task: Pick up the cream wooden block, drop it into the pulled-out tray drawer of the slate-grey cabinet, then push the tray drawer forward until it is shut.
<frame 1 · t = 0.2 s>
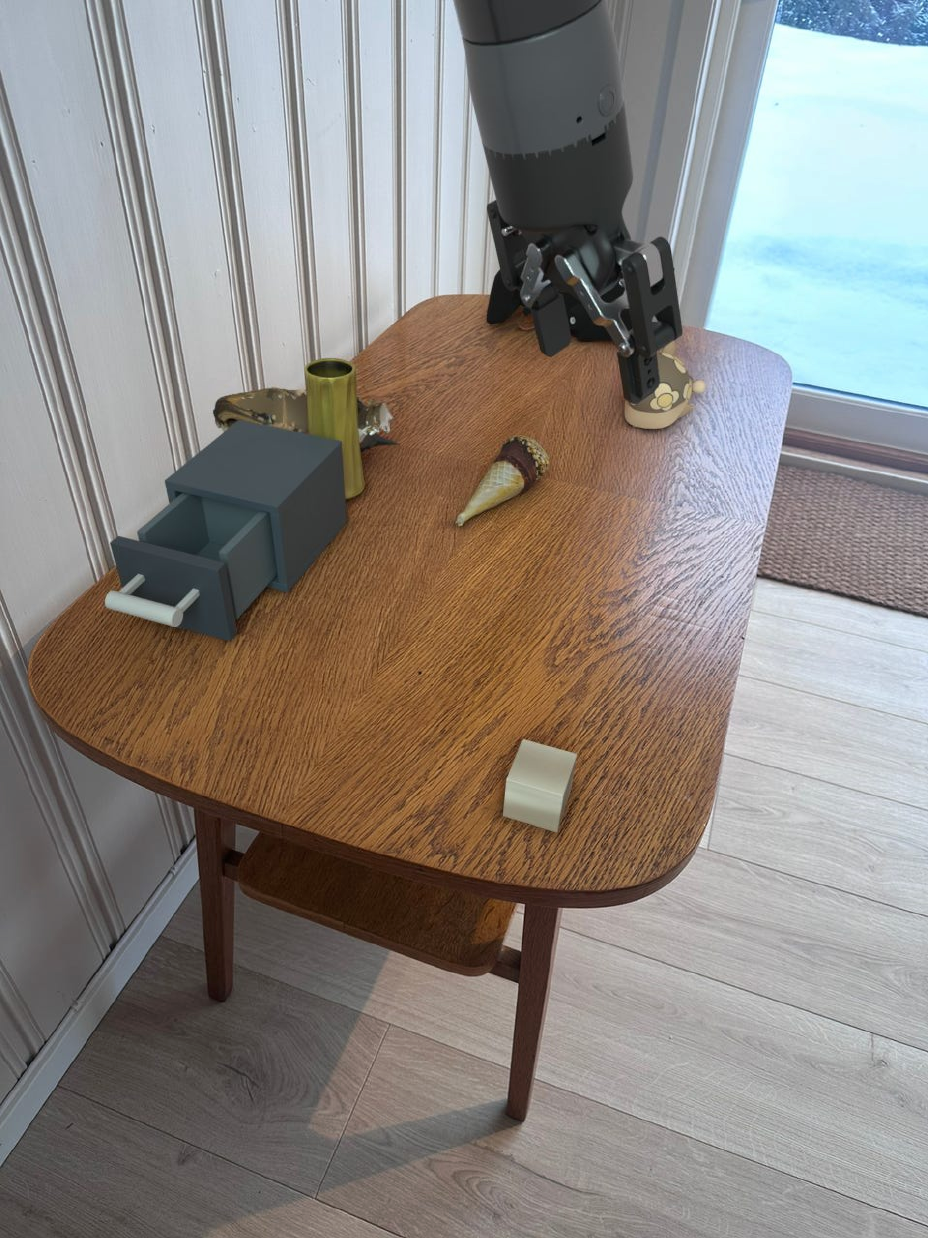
hand: (597, 371, 57), 29 cm above the table, tool tilted 20°, fingers open, 8 cm apart
drawer: (195, 568, 79), point 5 cm above the table, slide at 8.0 cm
cabinet: (267, 543, 91), on the table
knife: (562, 330, 138), on the table
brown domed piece: (678, 378, 123), point 1 cm above the table
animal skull: (278, 395, 94), point 11 cm above the table, touching vase
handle: (593, 339, 139), on the table
vase: (337, 488, 100), on the table, touching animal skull
ice cream cone: (457, 523, 95), on the table
block: (537, 803, 66), on the table
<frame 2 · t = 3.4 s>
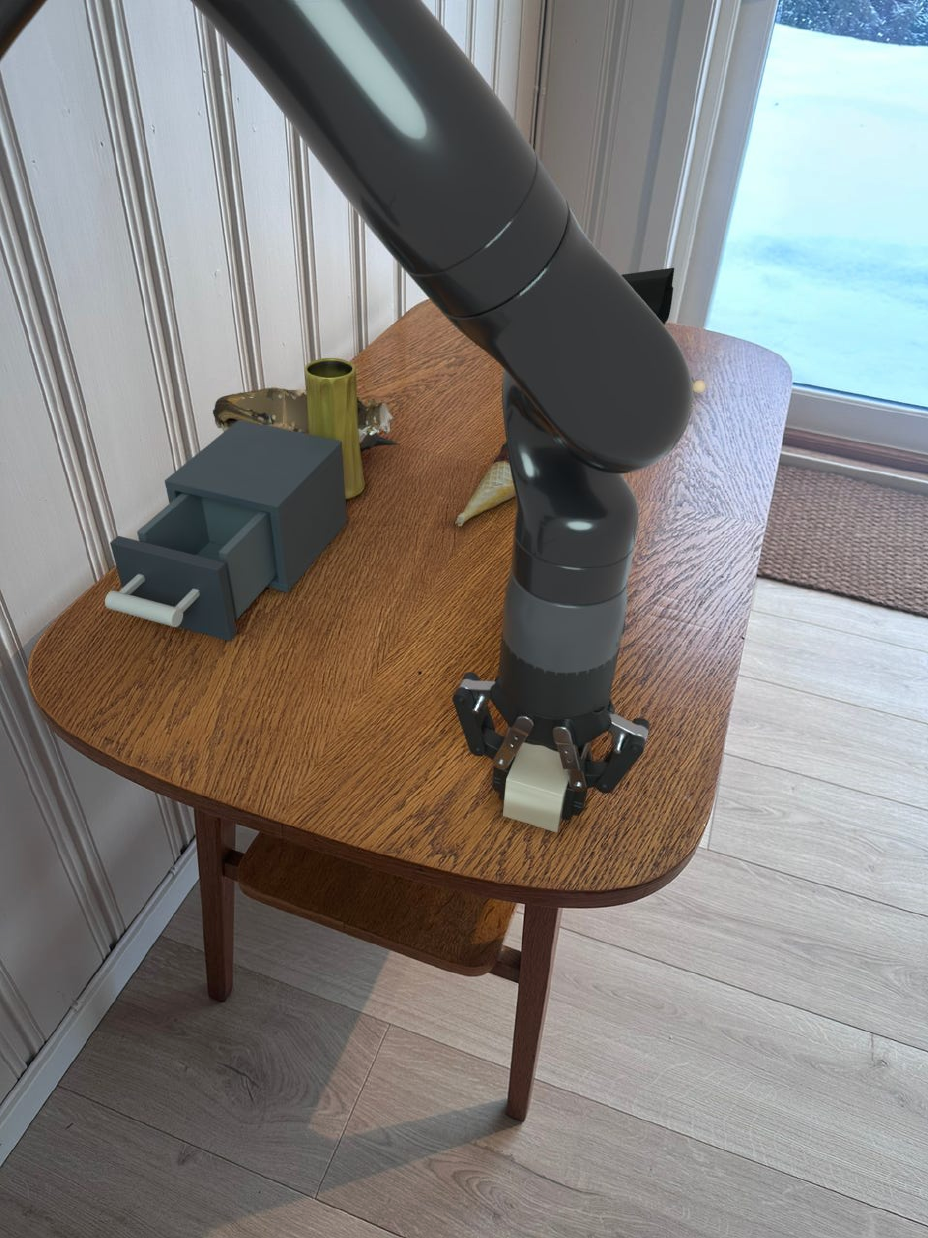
hand: (538, 801, 66), 0 cm above the table, tool pointing down, fingers closed on block, 4 cm apart
knife: (562, 330, 138), on the table, touching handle
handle: (593, 339, 139), on the table, touching knife
block: (537, 803, 66), on the table, touching gripper
everything else where it was.
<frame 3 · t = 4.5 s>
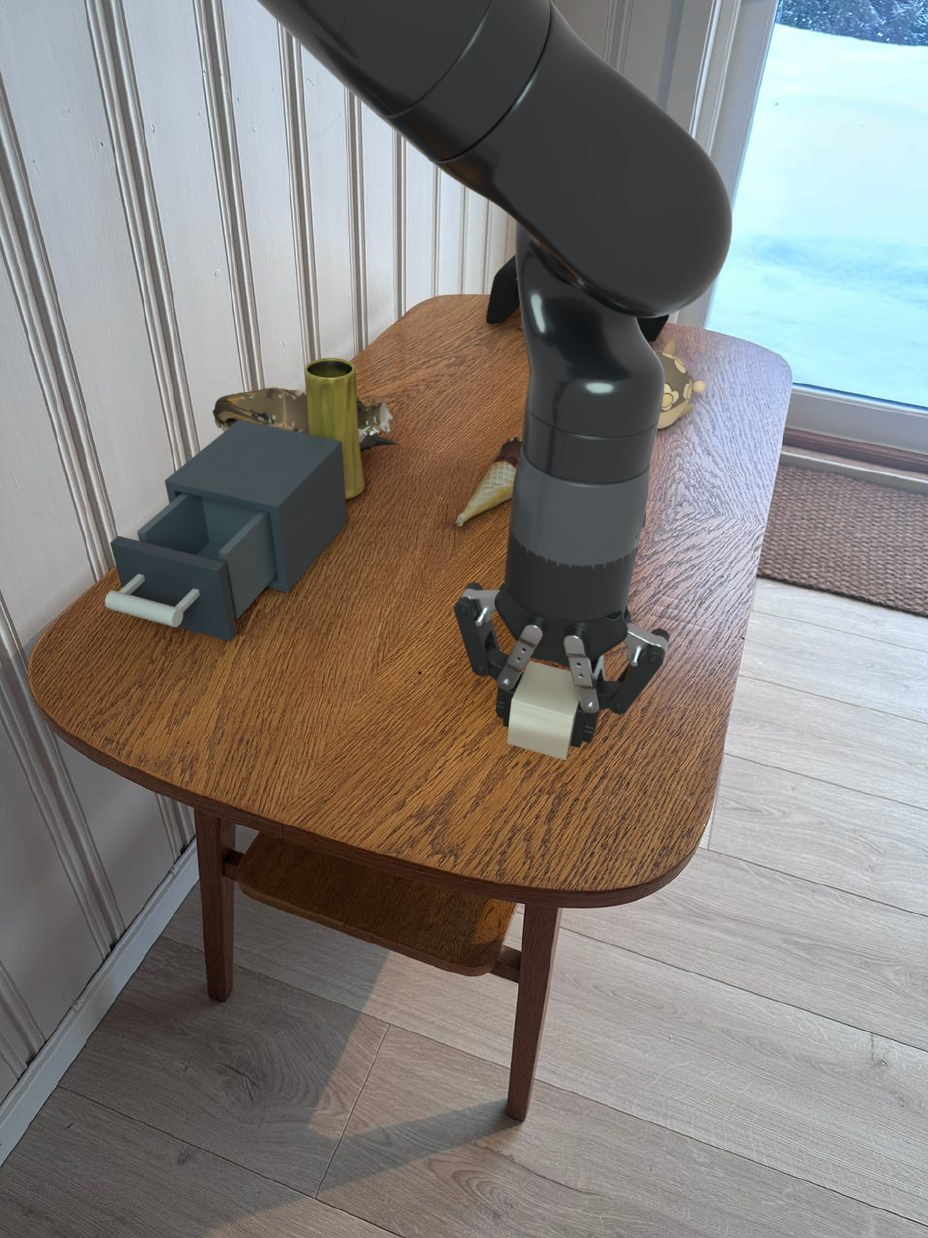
hand: (545, 728, 61), 8 cm above the table, tool pointing down, fingers closed on block, 4 cm apart
block: (544, 731, 61), point 8 cm above the table, touching gripper
everything else where it was.
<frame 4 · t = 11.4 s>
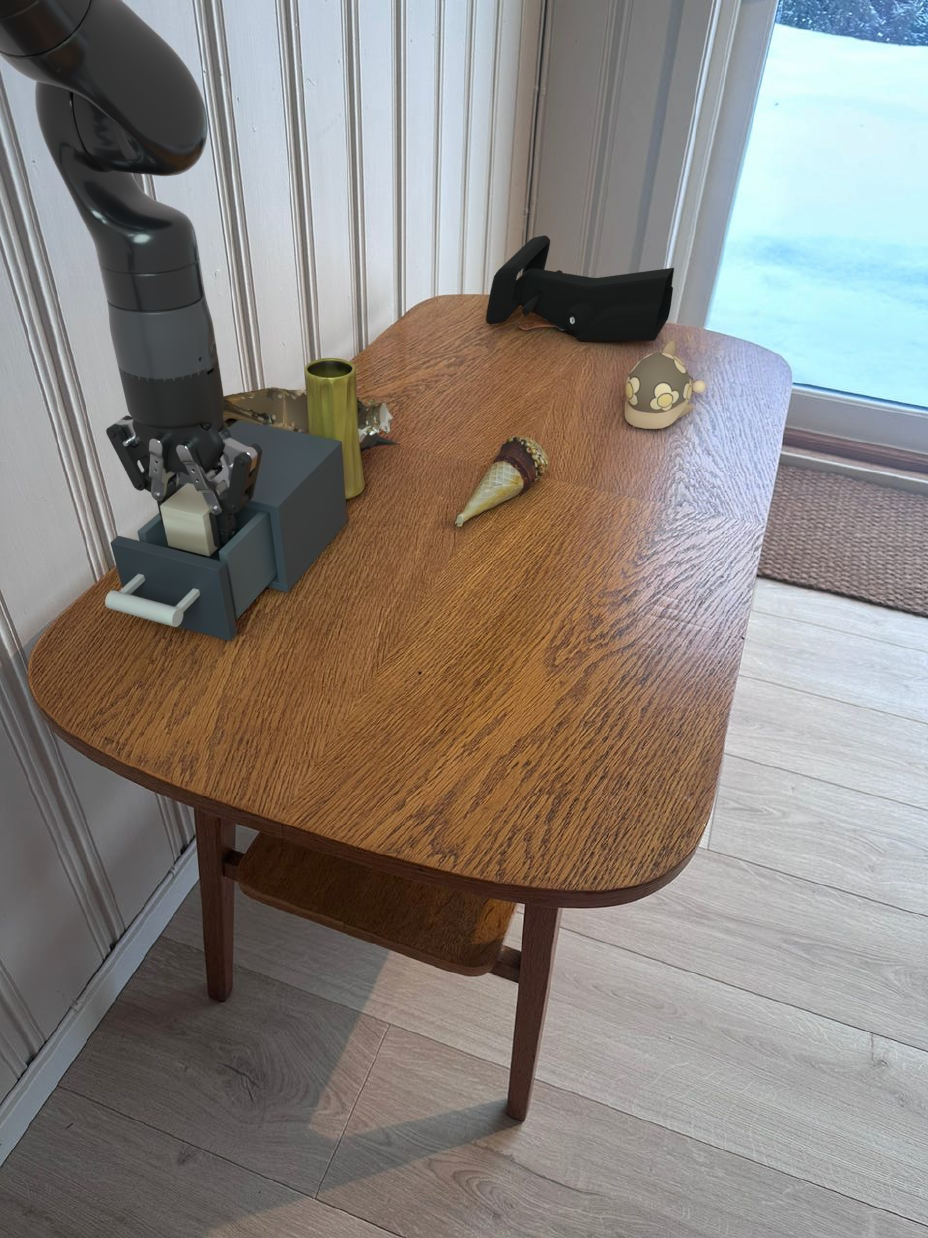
hand: (201, 536, 79), 7 cm above the table, tool pointing down, fingers closed on block, 4 cm apart
block: (201, 538, 79), point 7 cm above the table, touching gripper
everything else where it was.
when the fingers open (9 cm above the table, at t = 18.8 s): block drops 7 cm, resting on drawer.
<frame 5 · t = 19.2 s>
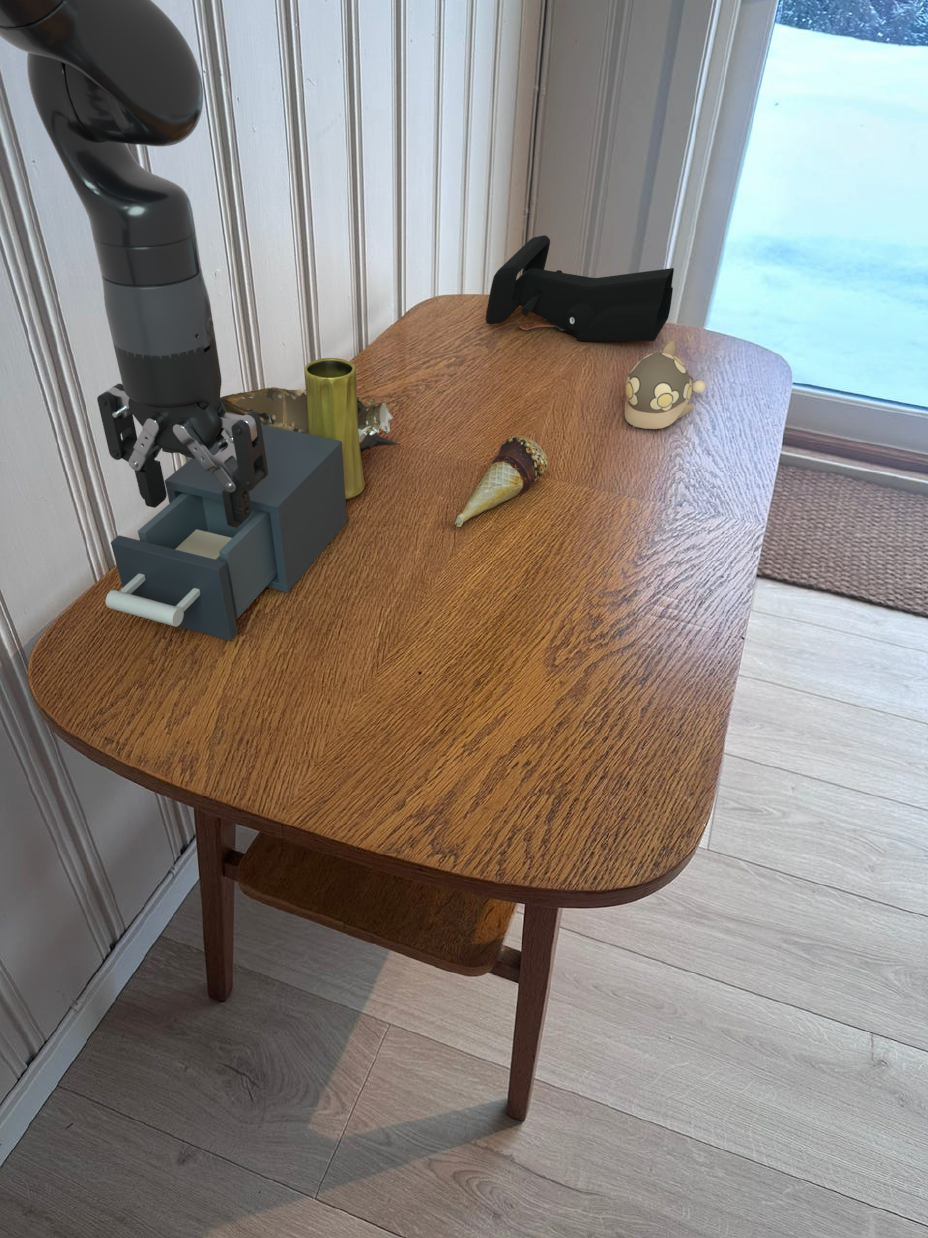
hand: (197, 512, 77), 10 cm above the table, tool pointing down, fingers open, 7 cm apart
drawer: (196, 568, 79), point 5 cm above the table, slide at 7.9 cm, touching block
block: (210, 582, 82), point 2 cm above the table, touching drawer
everything else where it was.
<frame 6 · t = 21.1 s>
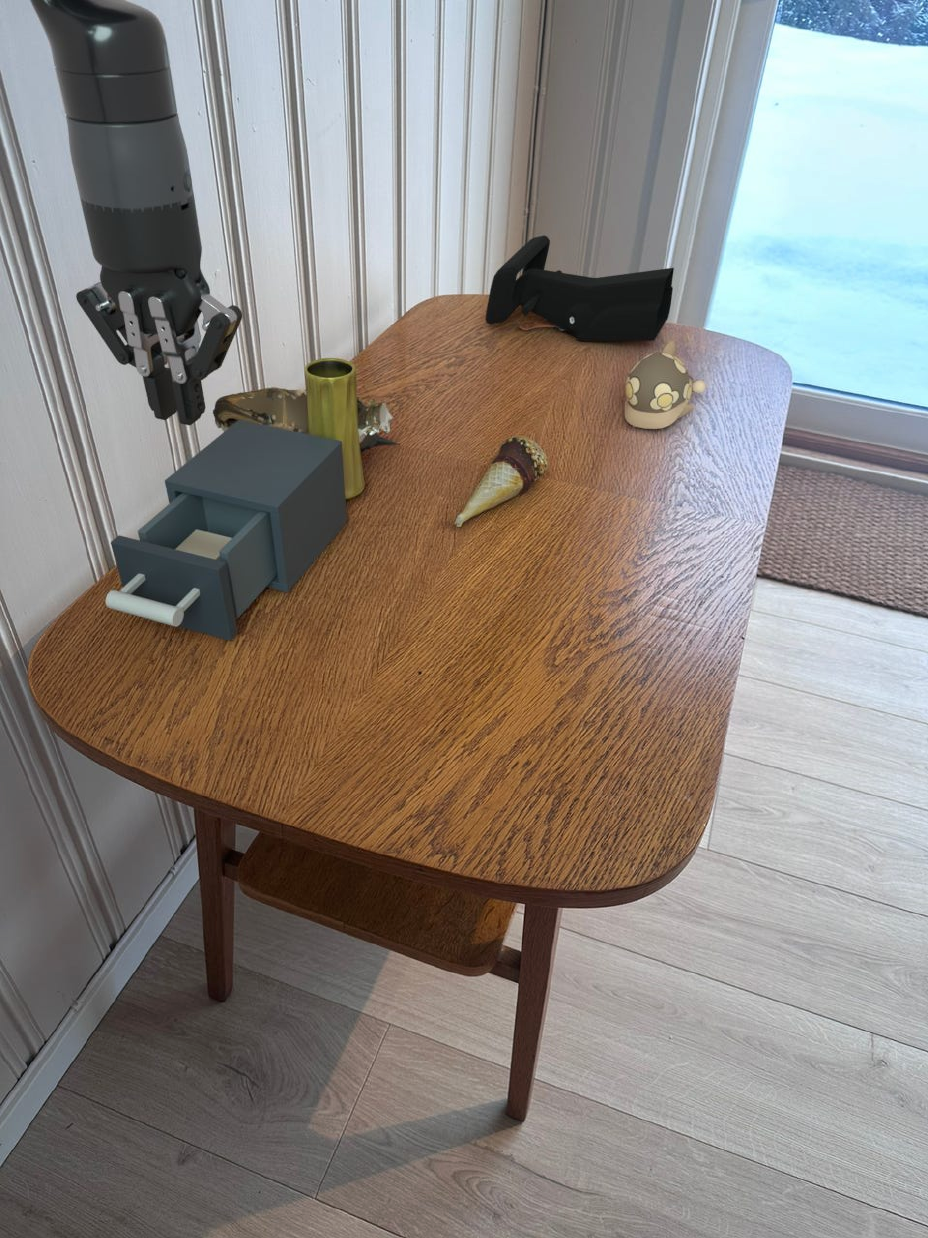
hand: (179, 417, 72), 19 cm above the table, tool pointing down, fingers closed
nothing on the table moved.
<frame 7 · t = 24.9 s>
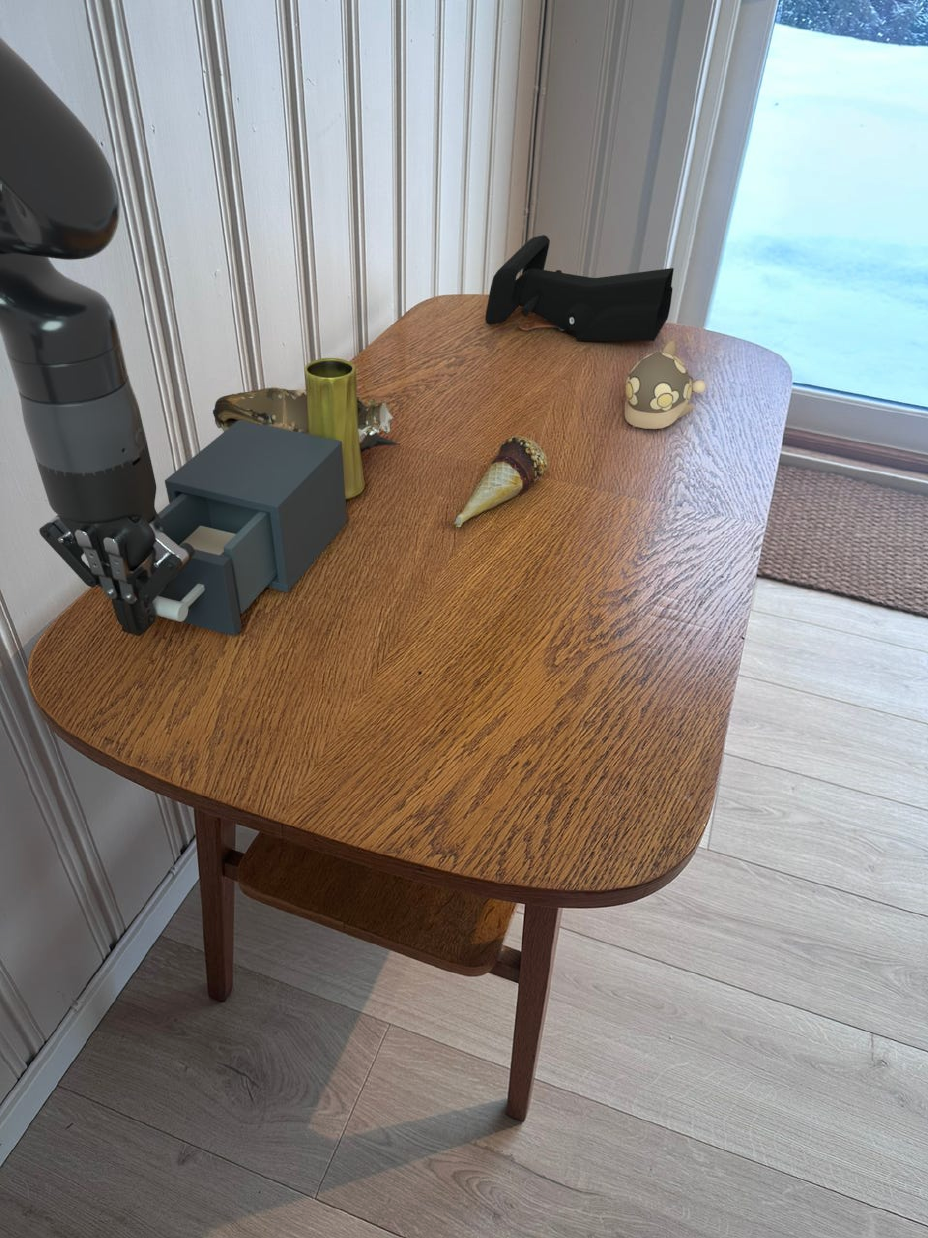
hand: (139, 628, 73), 5 cm above the table, tool pointing down, fingers closed
drawer: (200, 564, 80), point 5 cm above the table, slide at 7.2 cm, touching block, gripper
knife: (563, 331, 138), on the table
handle: (592, 339, 139), on the table
everything else where it was.
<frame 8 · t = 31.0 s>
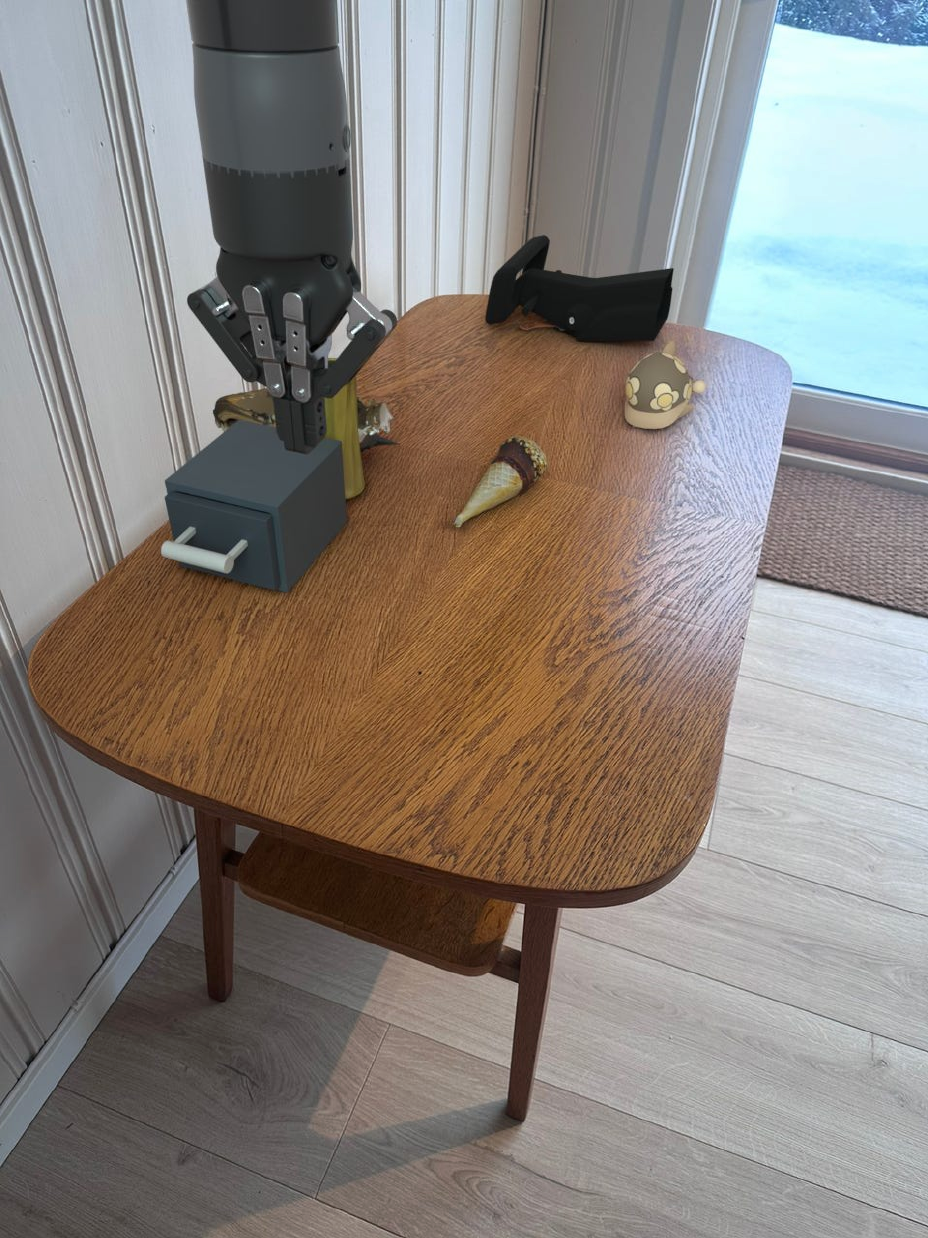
hand: (303, 446, 56), 25 cm above the table, tool pointing down, fingers closed
drawer: (241, 523, 85), point 5 cm above the table, slide at 0.0 cm, touching block
knife: (563, 330, 138), on the table, touching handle
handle: (592, 339, 139), on the table, touching knife
block: (253, 538, 88), point 2 cm above the table, touching drawer
everything else where it was.
at the end: block inside the target area in the cabinet (2.3 cm from its centre), point 2.1 cm above the cabinet's base; drawer slide at 0.0 cm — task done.
